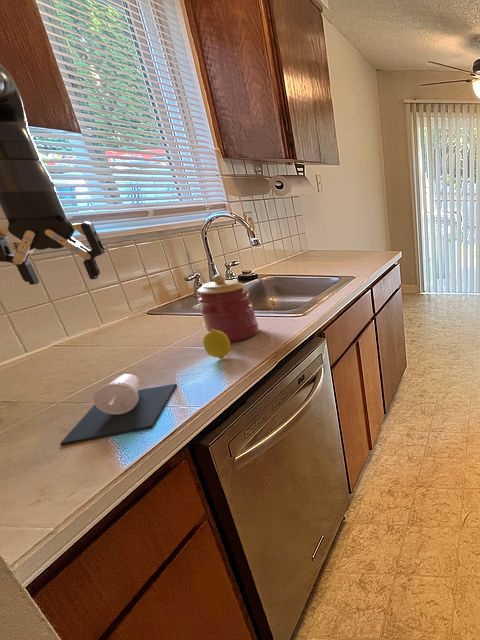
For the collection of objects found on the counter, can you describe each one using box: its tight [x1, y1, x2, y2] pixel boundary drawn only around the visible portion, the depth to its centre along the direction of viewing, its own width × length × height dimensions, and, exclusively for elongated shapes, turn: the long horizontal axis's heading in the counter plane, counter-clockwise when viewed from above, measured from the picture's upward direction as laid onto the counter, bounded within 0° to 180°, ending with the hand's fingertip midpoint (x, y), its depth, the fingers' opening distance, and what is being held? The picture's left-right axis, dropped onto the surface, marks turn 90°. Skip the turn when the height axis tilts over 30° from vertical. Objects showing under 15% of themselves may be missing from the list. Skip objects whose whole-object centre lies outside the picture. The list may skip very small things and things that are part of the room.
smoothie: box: [93, 373, 140, 415], centre depth 77 cm, size 6×6×14 cm
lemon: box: [202, 329, 232, 360], centre depth 99 cm, size 6×6×8 cm
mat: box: [59, 383, 177, 446], centre depth 78 cm, size 13×18×1 cm
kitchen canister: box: [196, 274, 260, 343], centre depth 113 cm, size 13×13×18 cm
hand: (65, 281), depth 76 cm, fingers open, 8 cm apart
